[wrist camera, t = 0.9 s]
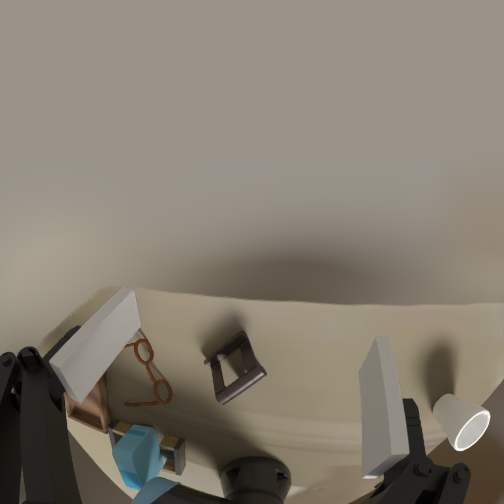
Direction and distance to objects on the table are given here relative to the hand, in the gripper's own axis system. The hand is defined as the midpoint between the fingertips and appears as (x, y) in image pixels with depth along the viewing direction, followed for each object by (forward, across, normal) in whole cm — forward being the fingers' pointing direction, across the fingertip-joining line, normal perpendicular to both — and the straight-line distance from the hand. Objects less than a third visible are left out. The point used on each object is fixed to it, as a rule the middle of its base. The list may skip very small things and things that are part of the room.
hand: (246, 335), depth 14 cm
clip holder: (+9, +20, +50) cm, 55 cm away
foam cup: (+22, -42, +36) cm, 59 cm away
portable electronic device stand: (+22, +5, +27) cm, 36 cm away
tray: (+11, +37, +43) cm, 57 cm away
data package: (+9, +21, +50) cm, 55 cm away
